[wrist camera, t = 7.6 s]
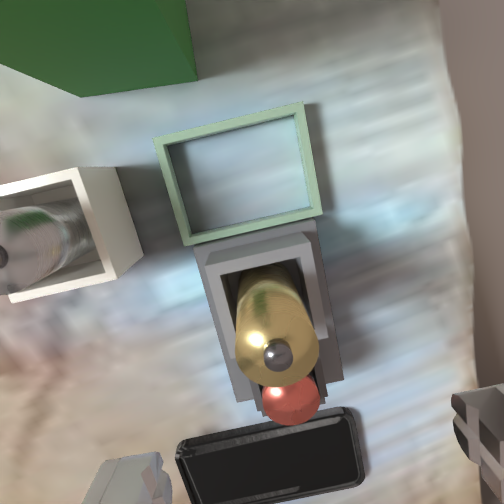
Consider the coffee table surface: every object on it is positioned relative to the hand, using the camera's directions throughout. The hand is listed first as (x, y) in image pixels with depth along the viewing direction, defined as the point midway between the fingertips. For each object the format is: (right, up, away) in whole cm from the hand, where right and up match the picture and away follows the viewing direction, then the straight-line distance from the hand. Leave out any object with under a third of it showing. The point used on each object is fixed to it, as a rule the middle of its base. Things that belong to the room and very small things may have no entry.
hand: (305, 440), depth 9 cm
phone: (0, -13, +19) cm, 23 cm away
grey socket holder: (0, +1, +15) cm, 15 cm away
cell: (-1, +3, +13) cm, 13 cm away
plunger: (+1, -3, +13) cm, 14 cm away
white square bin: (-13, +7, +13) cm, 20 cm away
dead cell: (-13, +7, +13) cm, 19 cm away
